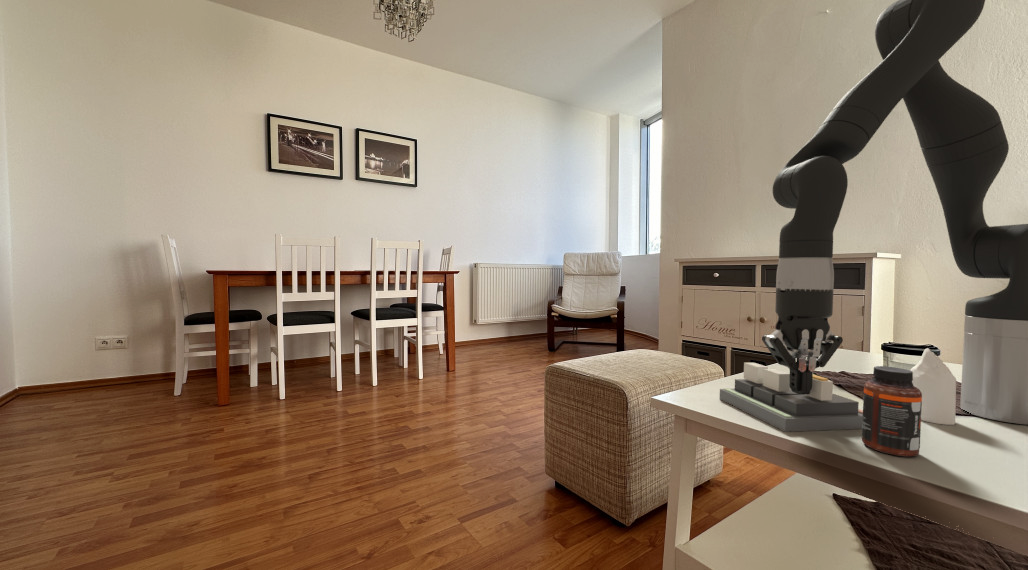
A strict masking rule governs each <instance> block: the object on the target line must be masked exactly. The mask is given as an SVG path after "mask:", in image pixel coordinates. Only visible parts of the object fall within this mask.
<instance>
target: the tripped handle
mask: <svg viewBox="0 0 1028 570" xmlns="http://www.w3.org/2000/svg"><path fill="white" fill-rule="evenodd" d="M833 385H834V381H833V380H829V379H828V378H827V377H823V376H819V375H816V374H813V376H812V389H811V391H810V394H804V395H807V396H810V397H813V398H816V399H818V400H832V394H834V393H833V389H834V387H833Z"/></svg>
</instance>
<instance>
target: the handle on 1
mask: <svg viewBox="0 0 1028 570" xmlns="http://www.w3.org/2000/svg"><path fill="white" fill-rule="evenodd" d="M763 369H769V366H765V365H763V364H761V363H760V364H759V363H756V362H743V379H747V380H749V381H752V382H755V383H763Z"/></svg>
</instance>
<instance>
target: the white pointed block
mask: <svg viewBox="0 0 1028 570" xmlns="http://www.w3.org/2000/svg"><path fill="white" fill-rule="evenodd" d="M909 370H910V371H912V372H913V381H912V383H913V386H914V387H917V388H918V389H919V390H920V391H921V393H922V408H921V409H922V410H921V421H923V422H927V423H931V424H936V425H937V424H938V425H944V426H945V425H947V426H953V425H956V408H957V407H956V403H957V401H956V400H957V399H956V397H957V379H956V377H955V375H954V374H953V372H952V371H951V370H950V368H949V367H948V366H947V364H946V363H944V361H943V360H942V359H941V358H940V357H939V356H937V355H936V353H934V351H931V349H930V348H928V347H927V348H925V349H924V350H923V353H922V355H921V358H920V359H919V361H918V362H917V363H916V365H914V366H913V367H911V368H910V369H909Z"/></svg>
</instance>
